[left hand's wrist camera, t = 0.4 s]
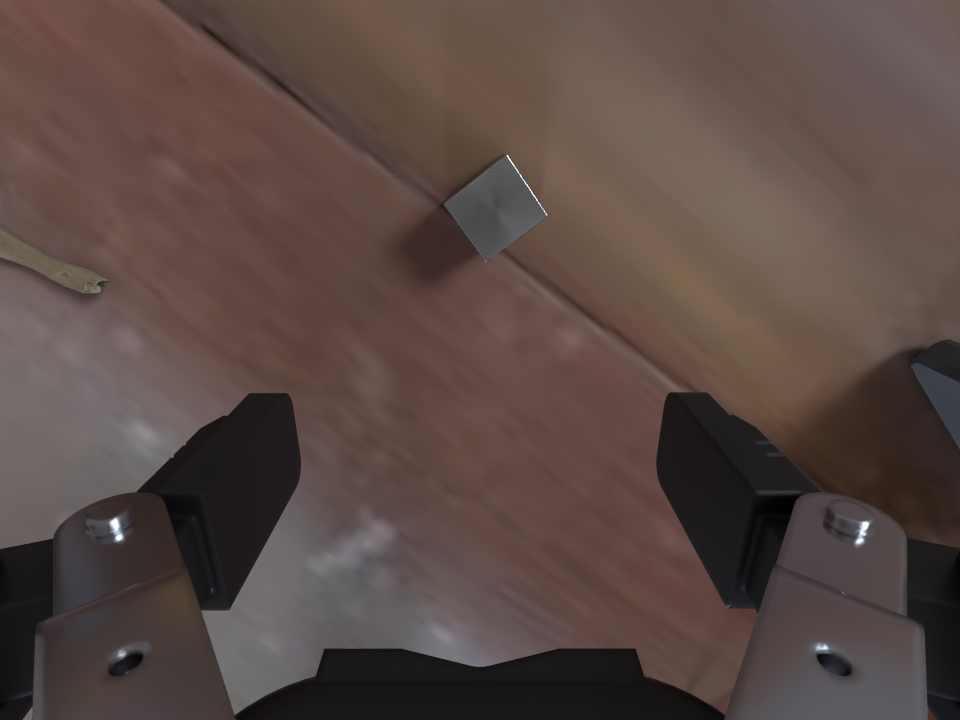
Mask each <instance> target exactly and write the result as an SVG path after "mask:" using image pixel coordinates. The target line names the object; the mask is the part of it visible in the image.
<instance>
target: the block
mask: <svg viewBox="0 0 960 720" xmlns="http://www.w3.org/2000/svg"><path fill="white" fill-rule="evenodd" d="M443 204H444V206H445V207H446V209H447V210H448V212H449V213H450V214H451V216H452V217H453V218H454V220H455V221H456V222H457V224H458V225H459V227H460V228H461V229H462V231H463V232H464V233H465V235H466V236H467V237H468V239H469V240H470V242H471V243H472V244H473V246H474V247H475V248H476V250H477V251H478V252H479V254H480V255H481V257H482V258H483V259H484V261H488V260H490V259H491V258H492V257H494V256H495V255H496V254H498V253H499V252H500V251H502V250H503V249H504V248H506V247H507V246H509V245H510V244H511V243H513V242H514V241H515V240H517V239H518V238H519V237H521V236H522V235H524V234H525V233H526V232H528V231H529V230H530V229H532V228H533V227H534V226H536V225H537V224H539V223H540V222H541V221H543V220H544V219H545V218H547V217H548V214H547V213H546V211H545V210H544V208H543V207H542V205H541V204H540V202H539V201H538V199H537V198H536V196H535V195H534V193H533V192H532V190H531V189H530V187H529V186H528V184H527V183H526V181H525V180H524V178H523V177H522V175H521V174H520V172H519V171H518V169H517V168H516V166H515V165H514V163H513V162H512V160H511V159H510V157H509V156H508V154H503V155H501V156H500V157H499V158H497V159H496V160H495V161H494V162H492V163H491V164H490V165H489V166H487V167H486V168H485V169H483V170H482V171H481V172H480V173H478V174H477V175H476V176H475V177H473V178H472V179H471V180H469V181H468V182H467V183H466V184H464V185H463V186H462V187H460V188H459V189H458V190H457V191H455V192H454V193H453V194H452V195H450V196H449V197H448V198H447V199H446V200H445V202H444V203H443Z"/></svg>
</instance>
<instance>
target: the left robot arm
mask: <svg viewBox="0 0 960 720" xmlns="http://www.w3.org/2000/svg"><path fill="white" fill-rule="evenodd" d="M656 465H657V475H658V479H659V483H660V485H661V487H662V489H663V491H664V493H665V495H666V497H667V499H668V500H669V502H670V504H671V506H672V508H673V510H674V511H675V513H676V515H677V517H678V519H679V521H680V523H681V524H682V526H683V528H684V530H685V532H686V534H687V536H688V537H689V539H690V541H691V543H692V545H693V547H694V548H695V550H696V552H697V554H698V556H699V558H700V560H701V561H702V563H703V565H704V567H705V569H706V571H707V573H708V574H709V576H710V578H711V580H712V582H713V584H714V585H715V587H716V589H717V591H718V593H719V595H720V597H721V598H722V600H723V602H724V604H725V606H726V608H755V610H756V611H757V613H758V615H757V619H756V622H755V625H754V628H753V631H752V634H751V637H750V640H749V644H748V647H747V650H746V653H745V656H744V659H743V662H742V665H741V668H740V672H739V675H738V678H737V681H736V684H735V687H734V690H733V693H732V697H731V700H730V703H729V706H728V709H727V712H726V715H724V714H723V713H721V712H720V711H718V710H717V709H716V708H714V707H713V706H711V705H709V704H708V703H706V702H704V701H702V700H701V699H699V698H697V697H696V696H694V695H692V694H690V693H688V692H685V691H683V690H681V689H679V688H677V687H675V686H672V685H670V684H667V683H664V682H661V681H658V680H656V679H652V678H648V677H645V676H644V674H643V671H642V668H641V665H640V661H639V658H638V655H637V652H636V649H556V650H552V651H548V652H544V653H540V654H535V655H531V656H527V657H523V658H519V659H515V660H511V661H507V662H503V663H499V664H495V665H491V666H486V667H474V666H469V665H465V664H461V663H457V662H453V661H449V660H445V659H441V658H437V657H433V656H429V655H425V654H420V653H416V652H412V651H408V650H404V649H324V652H323V655H322V658H321V661H320V665H319V668H318V671H317V674H316V676H315V677H312V678H308V679H304V680H302V681H299V682H296V683H293V684H290V685H288V686H285V687H283V688H281V689H279V690H277V691H275V692H272V693H270V694H268V695H266V696H264V697H263V698H261V699H259V700H258V701H256V702H254V703H252V704H251V705H249V706H247V707H246V708H244V709H243V710H242V711H240V712H239V713H237V714H236V715H234V712H233V709H232V706H231V703H230V700H229V697H228V693H227V690H226V687H225V684H224V681H223V678H222V675H221V672H220V668H219V665H218V662H217V659H216V656H215V653H214V650H213V647H212V644H211V640H210V637H209V634H208V631H207V628H206V625H205V622H204V619H203V615H202V612H201V610H229V609H230V608H231V606H232V604H233V602H234V600H235V598H236V597H237V595H238V593H239V591H240V589H241V588H242V586H243V584H244V582H245V580H246V578H247V577H248V575H249V573H250V571H251V569H252V567H253V566H254V564H255V562H256V560H257V558H258V556H259V555H260V553H261V551H262V549H263V547H264V545H265V544H266V542H267V540H268V538H269V536H270V535H271V533H272V531H273V529H274V527H275V525H276V524H277V522H278V520H279V518H280V516H281V514H282V513H283V511H284V509H285V507H286V505H287V503H288V502H289V500H290V498H291V496H292V494H293V492H294V491H295V489H296V487H297V484H298V481H299V477H300V471H301V457H300V450H299V443H298V437H297V430H296V423H295V417H294V410H293V404H292V400H291V398H290V396H289V395H288V394H287V393H250V394H248V395H247V396H246V397H245V398H244V399H243V400H242V401H241V402H240V403H239V405H238V406H237V407H236V408H235V409H234V410H233V411H232V412H231V413H230V414H229V415H228V416H222V417H220V418H218V419H217V420H215V421H213V422H211V423H209V424H207V425H206V426H204V427H202V428H200V429H199V430H198V431H197V432H196V433H195V434H194V435H193V436H192V437H191V438H190V439H189V440H188V441H187V442H186V446H182V447H181V448H180V449H179V450H178V451H177V452H176V453H175V454H174V458H170V459H169V460H168V461H167V462H166V463H165V464H164V465H163V466H162V467H161V468H160V469H159V470H158V471H157V472H156V473H155V474H154V475H153V476H152V477H151V478H150V479H149V480H148V481H147V482H146V483H145V484H144V485H143V486H142V487H141V488H140V489H139V490H138V491H137V492H134V493H126V494H121V495H116V496H113V497H109V498H106V499H103V500H100V501H98V502H95V503H93V504H91V505H89V506H87V507H85V508H83V509H81V510H79V511H78V512H76V513H74V514H73V515H72V516H70V517H69V518H68V519H66V520H65V521H64V522H63V523H62V524H61V525H60V527H59V528H58V529H57V530H56V532H55V534H54V538H53V539H50V540H45V541H40V542H34V543H29V544H24V545H19V546H14V547H9V548H4V549H0V720H23V718H24V717H25V715H26V714H27V713H28V711H29V710H30V709H31V707H32V706H33V709H32V720H928V709H927V706H928V707H929V709H930V710H931V711H932V713H933V714H934V716H935V717H936V718H937V720H960V548H955V547H950V546H945V545H940V544H934V543H929V542H924V541H919V540H914V539H909V538H906V534H905V532H904V530H903V529H902V528H901V527H900V525H899V524H898V523H897V522H896V521H895V520H894V519H892V518H891V517H890V516H888V515H887V514H886V513H884V512H882V511H881V510H879V509H877V508H875V507H873V506H871V505H869V504H867V503H865V502H862V501H860V500H857V499H854V498H851V497H847V496H844V495H839V494H834V493H826V492H820V491H819V490H818V489H817V488H816V487H815V486H814V485H813V484H812V483H811V482H810V481H809V480H808V479H807V478H806V477H805V476H804V475H803V474H802V473H801V472H800V471H799V470H798V469H797V468H796V467H795V466H794V465H793V464H792V463H791V462H790V461H789V460H788V459H787V458H786V457H782V453H781V452H780V451H779V450H778V449H777V448H776V447H775V446H774V445H773V444H770V441H769V440H768V439H767V438H766V437H765V436H764V435H763V434H762V433H761V432H760V431H759V430H758V429H757V428H756V427H754V426H753V425H751V424H749V423H747V422H745V421H744V420H742V419H740V418H738V417H736V416H734V415H728V414H727V412H726V411H725V410H724V409H723V408H722V407H721V406H720V405H719V404H718V403H717V402H716V401H715V400H714V399H713V398H712V397H711V396H710V395H709V394H708V393H706V392H671V393H669V394H668V395H667V397H666V400H665V404H664V410H663V417H662V424H661V431H660V438H659V444H658V451H657V461H656Z"/></svg>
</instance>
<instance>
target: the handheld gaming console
mask: <svg viewBox="0 0 960 720" xmlns="http://www.w3.org/2000/svg"><path fill="white" fill-rule="evenodd" d="M911 367H912V369H913V371H914V373H915V375H916V377H917V379H918V381H919V383H920V384H921V386H922V388H923V389H924V391H925V393H926V394H927V396H928V398H929V399H930V401H931V403H932V404H933V406H934V408H935V409H936V411H937V413H938V414H939V416H940V418H941V419H942V421H943V423H944V424H945V426H946V428H947V429H948V431H949V433H950V434H951V436H952V438H953V439H954V441H955V443H956V444H957V446H958V448H959V449H960V343H957V342H955V341H952V340H950V339H948V340H943V341H940V342H938V343H936V344H934V345H932V346H930V347H929V348H927V349H926V350H924V351H923V352H921V353H919V354H918V355H916V356H915V357H913V358H912V362H911Z"/></svg>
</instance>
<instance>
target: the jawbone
mask: <svg viewBox="0 0 960 720" xmlns="http://www.w3.org/2000/svg"><path fill="white" fill-rule="evenodd" d="M0 257H1V258H4V259H7V260H10V261H13V262H16V263H19V264H21V265H24V266H27V267H29V268H32V269H34V270H36V271H38V272H39V273H41V274H43V275H45V276H46V277H48V278H50V279H52V280H54V281H56V282H57V283H59V284H61V285H63V286H66V287H69V288H71V289H74V290H77V291H79V292H82V293H91V294H92V293H100V292H102V291H103V289H104V287H105V286H104V285H103V284H104V281H105V283H106V282H107V283H109V282H108V280H107V279H105V278H103V277H101V276H100V275H98V274H96V273H95V272H93V271H91V270H89V269H87V268H84V267H81V266H78V265H75V264H71V263H66V262H62V261H59V260H57V259H54V258H52V257H50V256H48V255H46V254H45V253H43V252H42V251H40V250H38V249H37V248H35V247H33V246H32V245H30V244H28V243H26V242H25V241H23V240H21V239H20V238H18V237H17V236H15V235H13V234H12V233H10V232H8V231H7V230H5V229H4V228H2V227H1V226H0Z"/></svg>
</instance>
